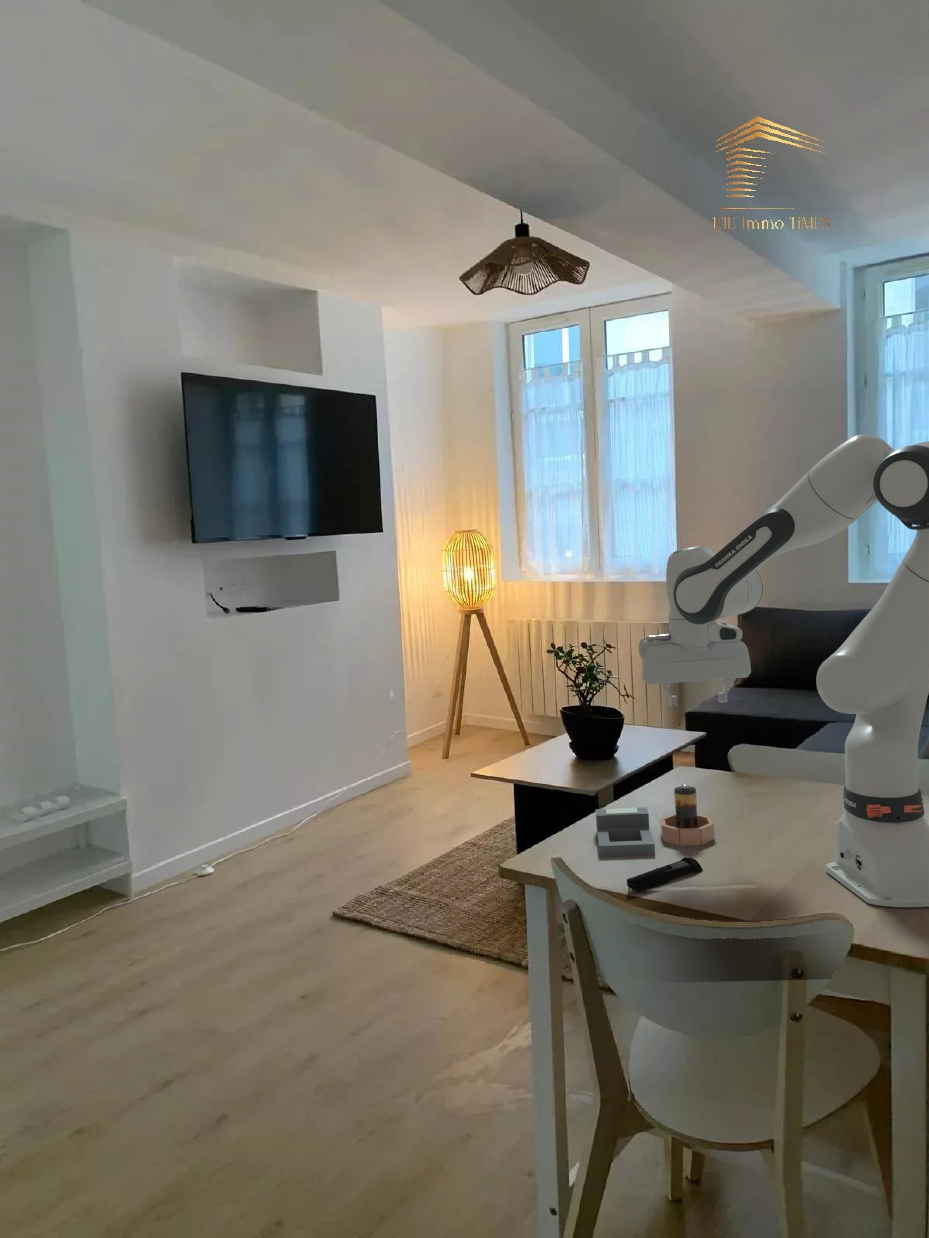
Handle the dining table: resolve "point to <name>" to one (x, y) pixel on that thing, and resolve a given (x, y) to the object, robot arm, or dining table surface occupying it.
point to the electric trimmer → (664, 874)
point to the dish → (687, 831)
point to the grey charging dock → (624, 832)
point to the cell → (685, 806)
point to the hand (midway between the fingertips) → (697, 703)
